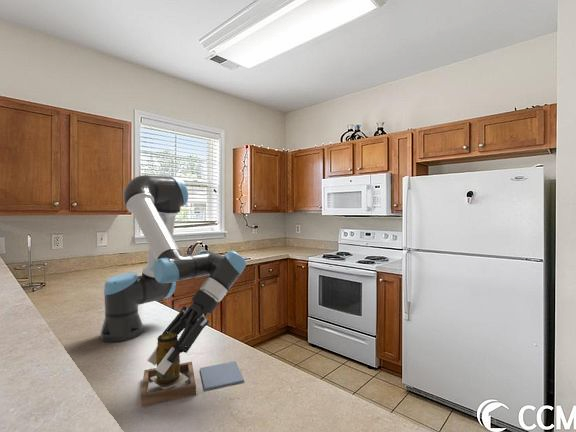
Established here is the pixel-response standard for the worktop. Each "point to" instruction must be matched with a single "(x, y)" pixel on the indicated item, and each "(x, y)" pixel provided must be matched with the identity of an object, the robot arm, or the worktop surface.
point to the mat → (221, 375)
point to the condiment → (173, 372)
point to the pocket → (168, 393)
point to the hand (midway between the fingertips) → (155, 367)
